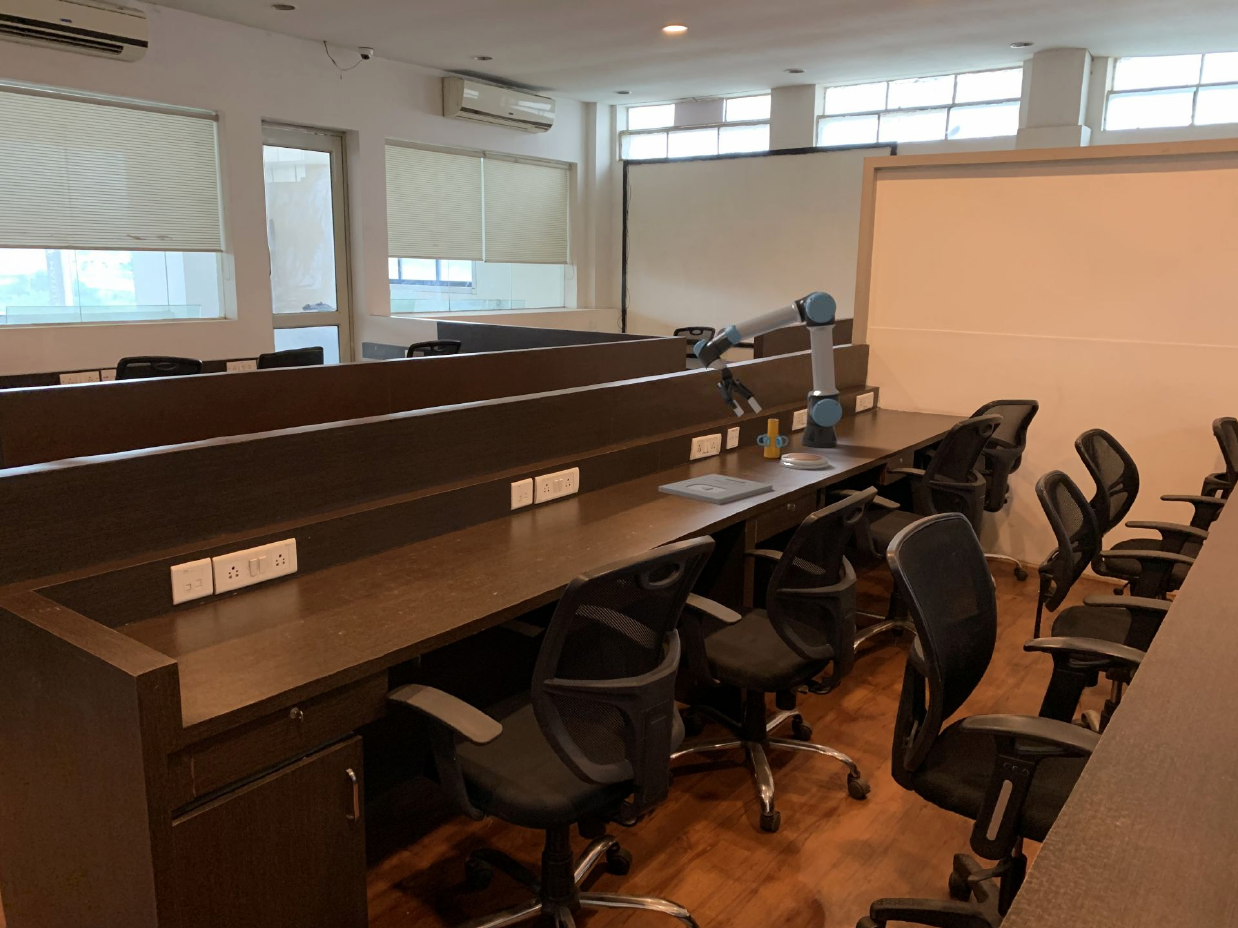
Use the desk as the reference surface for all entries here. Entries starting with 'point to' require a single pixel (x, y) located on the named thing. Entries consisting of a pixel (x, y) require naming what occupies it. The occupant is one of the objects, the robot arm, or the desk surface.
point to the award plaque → (715, 488)
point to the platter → (804, 459)
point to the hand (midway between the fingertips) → (750, 413)
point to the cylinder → (772, 440)
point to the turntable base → (803, 466)
